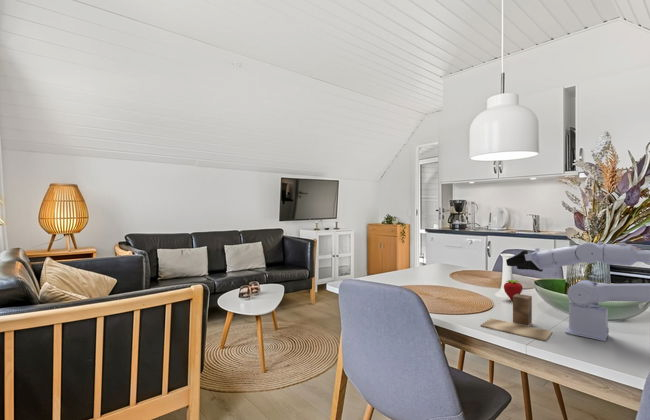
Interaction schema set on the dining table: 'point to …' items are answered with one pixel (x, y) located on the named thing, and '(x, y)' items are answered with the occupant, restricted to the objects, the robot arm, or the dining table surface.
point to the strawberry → (512, 288)
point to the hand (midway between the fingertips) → (512, 264)
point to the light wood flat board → (517, 329)
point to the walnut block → (522, 309)
